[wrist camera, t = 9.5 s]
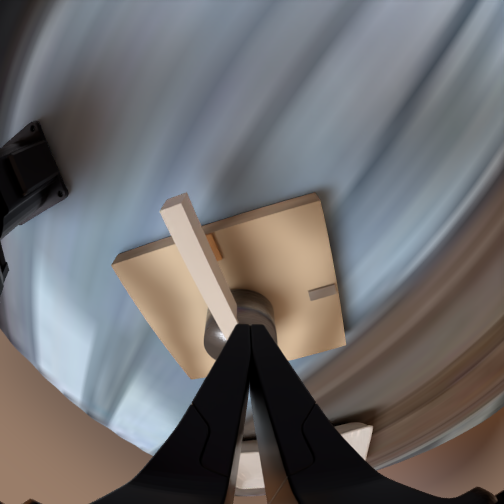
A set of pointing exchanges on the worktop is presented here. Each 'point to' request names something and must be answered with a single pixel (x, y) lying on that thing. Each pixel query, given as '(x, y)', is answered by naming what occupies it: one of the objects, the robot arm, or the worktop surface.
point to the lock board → (244, 281)
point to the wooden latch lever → (213, 279)
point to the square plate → (251, 465)
